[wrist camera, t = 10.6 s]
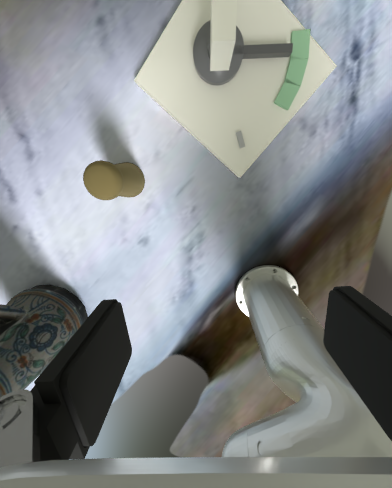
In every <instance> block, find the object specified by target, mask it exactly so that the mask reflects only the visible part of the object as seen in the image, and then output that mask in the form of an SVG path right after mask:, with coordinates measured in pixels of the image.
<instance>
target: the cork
mask: <svg viewBox="0 0 392 488" xmlns="http://www.w3.org/2000/svg"><path fill="white" fill-rule="evenodd" d="M83 181H84V184H85V187H86V189H87V190H88V192H89V193H90V194H91V195H92V196H94V197H96V198H98V199H101V200H111V199H114V198H116V197H118V196H122V197H135V196H137V195H139V194H140V193H141V192H142V190H143V188H144V184H145V179H144V175H143V173H142V171H141V170H140V169H139V167H138V166H136V165H134V164H132V163H128V162H126V163H120V164H112V163H110V162H106V161H102V160H101V161H95V162H93V163H91V164H89V165H88V166H87V168H86V169H85V171H84V175H83Z"/></svg>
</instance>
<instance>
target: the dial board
mask: <svg viewBox="0 0 392 488" xmlns="http://www.w3.org/2000/svg"><path fill="white" fill-rule="evenodd" d="M210 3H211V0H182V1H181V3H180V5H179V6H178V8H177V10H176V11H175V13H174V15H173V16H172V18H171V20H170V21H169V23H168V25H167V26H166V28H165V30H164V31H163V33H162V35H161V36H160V38H159V40H158V41H157V43H156V45H155V46H154V48H153V50H152V51H151V53H150V55H149V56H148V58H147V60H146V61H145V63H144V65H143V66H142V68H141V70H140V71H139V73H138V75H137V76H136V78H135V80H134V81H135V82H136V84H137V85H138V86H139V87H140V88H141V89H142V90H144V91H145V92H146V93H147V94H148V95H149V96H150V97H151V98H152V99H153V100H154V101H155V102H157V103H158V104H159V105H160V106H161V107H162V108H163V109H164V110H165V111H166V112H167V113H168V114H170V115H171V116H172V117H173V118H174V119H175V120H176V121H177V122H178V123H179V124H180V125H182V126H183V127H184V128H185V129H186V130H187V131H188V132H189V133H190V134H191V135H192V136H193V137H195V138H196V139H197V140H198V141H199V142H200V143H201V144H202V145H203V146H204V147H205V148H206V149H208V150H209V151H210V152H211V153H212V154H213V155H214V156H215V157H216V158H217V159H218V160H220V161H221V162H222V163H223V164H224V165H225V166H226V167H227V168H228V169H229V170H230V171H231V172H233V173H234V174H235V175H236V176H237V177H238V178H241V176H242V175H243V174H244V173H245V172H246V171H247V170H248V168H249V167H250V166H251V165H252V164H253V163H254V161H255V160H256V159H257V158H258V157H259V156H260V154H261V153H262V152H263V151H264V150H265V149H266V148H267V146H268V145H269V144H270V143H271V142H272V141H273V139H274V138H275V137H276V136H277V135H278V134H279V132H280V131H281V130H282V129H283V128H284V127H285V126H286V124H287V123H288V122H289V121H290V120H291V119H292V117H293V116H294V115H295V114H296V113H297V112H298V110H299V109H300V108H301V107H302V106H303V105H304V104H305V102H306V101H307V100H308V99H309V98H310V97H311V95H312V94H313V93H314V92H315V91H316V90H317V88H318V87H319V86H320V85H321V84H322V83H323V82H324V80H325V79H326V78H327V77H328V76H329V75H330V73H331V72H332V71H333V70H334V69H335V68H336V65H335V63H334V62H333V61H332V60H331V59H330V57H329V56H328V55H327V54H326V53H325V52H324V50H323V49H322V48H321V47H320V46H319V44H318V43H317V42H316V41H315V40H314V39H313V37H312V36H311V35H310V29H305V28H304V27H303V26H302V24H301V23H300V22H299V21H298V20H297V18H296V17H295V16H294V15H293V14H292V13H291V11H290V10H289V9H288V8H287V7H286V5H285V4H284V3H283V2H282V1H281V0H237V16H236V26H237V27H238V28H239V30H240V32H241V34H242V37H243V41H244V45H258V44H282V43H293V49H292V53H291V55H290V56H289V57H283V58H257V59H242V62H241V65H240V68H239V70H238V72H237V74H236V75H235V76H234V78H233V79H232V80H230V81H229V82H227V83H225V84H223V85H218V86H217V85H211V84H208V83H206V82H205V81H203V80H202V79H201V78H200V76H199V75H198V73H197V71H196V69H195V65H194V58H193V45H194V41H195V38H196V35H197V33H198V31H199V30H200V28H201V27H202V26H203V25H204V24H205V23H206V22H208V21H209V20H210Z"/></svg>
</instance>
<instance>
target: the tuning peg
mask: <svg viewBox="0 0 392 488" xmlns="http://www.w3.org/2000/svg"><path fill="white" fill-rule="evenodd" d="M236 16H237V0H211V3H210V20H209V21H208V22H206V23H205V24H204V25H203V26H202V27H201V28H200V30H199V31H198V33H197V35H196V38H195V41H194V45H193V58H194V65H195V69H196V71H197V73H198V75H199V76H200V78H201V79H202V80H203V81H205V82H206V83H208V84H211V85H217V86H218V85H223V84H225V83H227V82H229V81H230V80H232V79H233V78H234V76H235V75H236V74H237V72H238V70H239V68H240V65H241V62H242V59H257V58H283V57H289V56H290V55H291V53H292V49H293V43H282V44H258V45H244V41H243V37H242V34H241V32H240V30H239V28H238V27H237V26H236Z"/></svg>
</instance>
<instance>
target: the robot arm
mask: <svg viewBox="0 0 392 488" xmlns="http://www.w3.org/2000/svg"><path fill="white" fill-rule="evenodd" d="M247 277H248V278H247ZM235 296H236V301H237V304H238V306H239V308H240V309H241V311H242V312H243V313H244V314H246V315H247V316H249V317H250V320H251V323H252V327H253V330H254V333H255V336H256V339H257V342H258V345H259V348H260V351H261V355H262V358H263V360H264V364H265V367H266V369H267V372H268V374H269V376H270V378H271V379H272V381H273V382H274V383H275V384H276V386H277V387H278V388H279V389H280V390H281V391H282V392H283V393H285V394H286V395H287V396H288V397H290V398H291V399H292V400H294V401H295V402H297V403H295V404H293V405H291V406H289V407H287V408H286V409H284V410H282V411H279V412H277V413H275V414H272V415H270V416H267V417H265V418H263V419H260V420H258V421H256V422H253V423H251V424H249V425H247V426H244V427H243V428H241V429H239V430H237V431H236V432H234V433H233V434H232V435H231V436H230V437H229V439H228V440H227V442H226V444H225V446H224V449H223V453H222V457H190V458H103V459H85V456H86V454H87V452H88V449H89V447H90V446H93V445H94V443H95V442H96V439H97V437H98V435H99V432H100V430H101V428H102V425H103V423H104V420H105V418H106V416H107V413H108V411H109V408H110V406H111V403H112V401H113V399H114V396H115V394H116V391H117V389H118V386H119V384H120V382H121V379H122V377H123V374H124V372H125V370H126V367H127V365H128V362H129V360H130V357H131V354H132V347H131V343H130V339H129V335H128V330H127V326H126V322H125V318H124V313H123V309H122V305H121V303H120V302H118V301H117V300H116V299H113V300H103V301H101V303H100V304H99V305H98V306H97V307H96V309H95V310H94V311H93V312H92V313H91V314H90V316H89V317H88V318H87V319H86V320H85V322H84V323H83V324H82V325H81V326H80V328H79V329H78V330H77V331H76V332H75V334H74V335H73V336H72V337H71V338H70V340H69V341H68V342H67V343H66V344H65V346H64V347H63V348H62V349H61V350H60V352H59V353H58V354H57V355H56V356H55V358H54V359H53V360H52V361H51V362H50V364H49V365H48V366H47V367H46V368H45V370H44V371H43V372H42V373H41V374H40V376H39V377H38V378H37V379H36V380H35V382H34V383H35V386H34V388H33V389H32V390H31V391H28V390H17V391H13V392H11V393H8V394H6V395H4V396H2V397H0V488H392V316H391V315H389V314H388V313H387V312H385V311H384V310H382V309H381V308H380V307H379V306H377V305H376V304H374V303H373V302H372V301H370V300H369V299H368V298H366V297H365V296H364V295H362V294H361V293H360V292H358V291H357V290H356V289H354V288H353V287H351V286H341V287H334V288H333V290H331V291H330V292H329V298H328V306H327V314H326V322H325V330H324V328H323V327H322V326H321V324H320V323H319V322H318V321H317V319H316V318H315V317H314V316H313V314H312V313H311V312H310V311H309V309H308V308H307V307H306V306H305V304H304V303H303V302H302V300H301V299H300V298H299V297H298V286H297V282H296V281H295V279H294V277H293V276H292V275H291V274H290V273H289V272H288V271H286V270H285V269H283V268H281V267H278V266H273V265H263V266H259V267H256V268H253V269H251V270H250V271H248V272H247V273H245V274H244V275H243V276H242V278H241V279H240V280H239V282H238V284H237V287H236V291H235ZM69 459H73V460H69Z"/></svg>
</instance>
